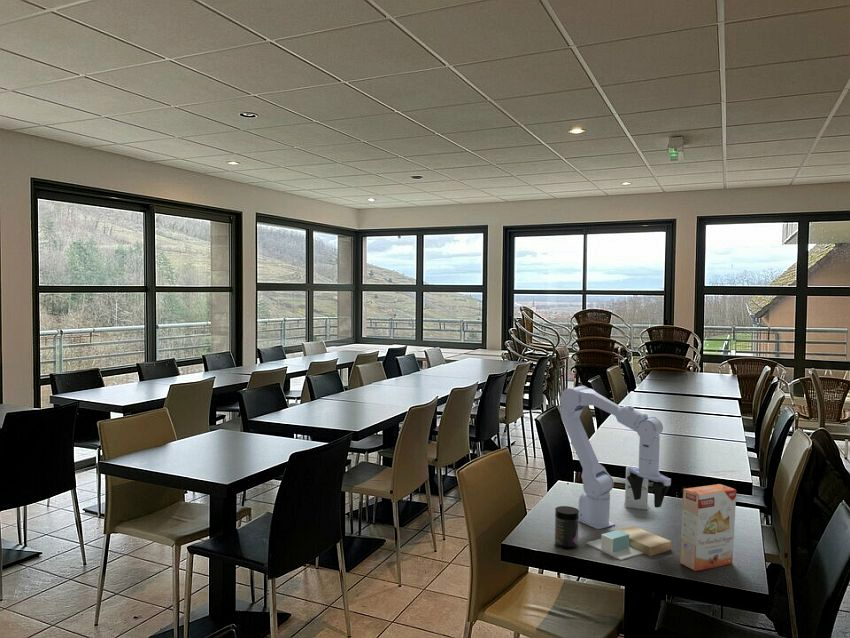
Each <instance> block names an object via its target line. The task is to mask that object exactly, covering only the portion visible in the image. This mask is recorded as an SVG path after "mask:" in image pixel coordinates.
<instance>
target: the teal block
mask: <svg viewBox="0 0 850 638" xmlns="http://www.w3.org/2000/svg"><path fill="white" fill-rule="evenodd" d="M615 530H616V529H615ZM600 539H601V548H602V549H604V550H606V551H608V552H611V553H614V552H617V551H621V550H624V549H628V548H629V534H627V533H625V532H622V531H620V530H616V531H612V530H611V531H608V532H605V533H601V535H600Z"/></svg>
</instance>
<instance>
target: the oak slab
mask: <svg viewBox="0 0 850 638" xmlns="http://www.w3.org/2000/svg"><path fill="white" fill-rule="evenodd" d="M616 530H620V531H622V532H625V533H627V534H629V546H630V547H632V548H634V549H636V550H639V551H641V552H643V554H644V555H647V556H649V557H652V556H654V555H658V554H662V553H665V552H669V551H672V540H670V539H667V538H664V537H662V536H659V535H657V534H655V533H652V532H650V531H647V530H644V529H642V528H640V527H637V526H635V525H628V526H625V527H624V526H623V527H621V528H617V529H613V530H611V532H612V531H616Z"/></svg>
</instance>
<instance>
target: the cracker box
mask: <svg viewBox="0 0 850 638" xmlns="http://www.w3.org/2000/svg"><path fill="white" fill-rule="evenodd" d="M682 492H683V493H682V509H681V511H682V513H681V526H680V527H681V528H680V529H681V531H680V551H679V564H681V565H683V566H685V567H686V568H688V569H690V570H692V571H695V572H698V571H702V570H708V569H713V568H718V567H721V566H727V565H732V564H733V558H734V557H733V555H734V554H733V553H734V541H735V540H734V539H735V538H734V537H735V522H736V521H735V520H736V506H737V505H736V503H737V489H735V488H733V487H730V486H727V485H724V484H721V483H717V484H711V485H710V484H709V485H703V486H695V487H688V488H683V491H682Z"/></svg>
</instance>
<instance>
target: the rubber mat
mask: <svg viewBox="0 0 850 638" xmlns="http://www.w3.org/2000/svg"><path fill="white" fill-rule="evenodd" d="M585 544H586V545H588V546H589V547H592V548H594V549H596V550H598V551H601V552H602V553H604V554H606V555H609V556H611V557H612V558H615V559H617V560H620V561H624V560H627V559H631V558H633V557H637V556H640V555H643V554H644V553H643V552H641V551H639V550H636V549H634V548H632V547H630V546H629V548H628V549H624V550H621V551H617V552H614V553H611V552H608V551H606V550H604V549H602V548H601V538H598V539H594V540H590V541H586V543H585Z"/></svg>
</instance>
